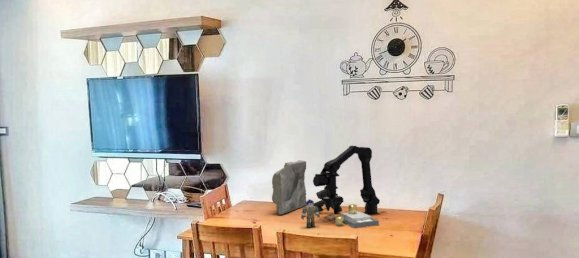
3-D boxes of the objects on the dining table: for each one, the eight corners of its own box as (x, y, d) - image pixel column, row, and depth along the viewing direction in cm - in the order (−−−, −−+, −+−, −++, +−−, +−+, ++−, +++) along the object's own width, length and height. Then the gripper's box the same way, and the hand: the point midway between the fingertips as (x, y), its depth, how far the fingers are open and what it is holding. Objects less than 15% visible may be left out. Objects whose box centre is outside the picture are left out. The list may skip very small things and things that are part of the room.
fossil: (284, 216, 271) (283, 165, 269) (270, 215, 275) (269, 165, 273) (308, 205, 301) (307, 159, 300) (296, 204, 305) (295, 159, 304)
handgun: (342, 211, 273) (333, 193, 274) (316, 222, 277) (308, 204, 277) (343, 210, 275) (334, 192, 276) (317, 222, 279) (308, 203, 279)
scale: (361, 217, 264) (361, 210, 264) (378, 225, 246) (378, 217, 246) (337, 220, 259) (337, 213, 258) (353, 228, 241) (353, 220, 241)
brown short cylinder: (333, 219, 262) (333, 213, 262) (336, 220, 258) (336, 215, 258) (326, 220, 260) (326, 214, 260) (329, 221, 256) (329, 216, 256)
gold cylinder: (334, 224, 249) (334, 216, 248) (341, 223, 250) (341, 215, 250) (337, 226, 245) (337, 218, 244) (345, 225, 246) (345, 217, 246)
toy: (303, 229, 241) (302, 200, 240) (300, 227, 245) (299, 199, 244) (321, 226, 245) (320, 198, 244) (317, 225, 249) (317, 197, 248)
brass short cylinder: (354, 212, 260) (354, 204, 260) (358, 213, 256) (357, 205, 256) (347, 212, 259) (347, 204, 259) (350, 214, 255) (350, 206, 254)
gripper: (311, 183, 264) (311, 210, 265) (324, 188, 247) (325, 217, 247) (328, 182, 268) (329, 208, 269) (343, 186, 250) (344, 215, 251)
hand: (331, 212), depth 259 cm, fingers open, 9 cm apart
